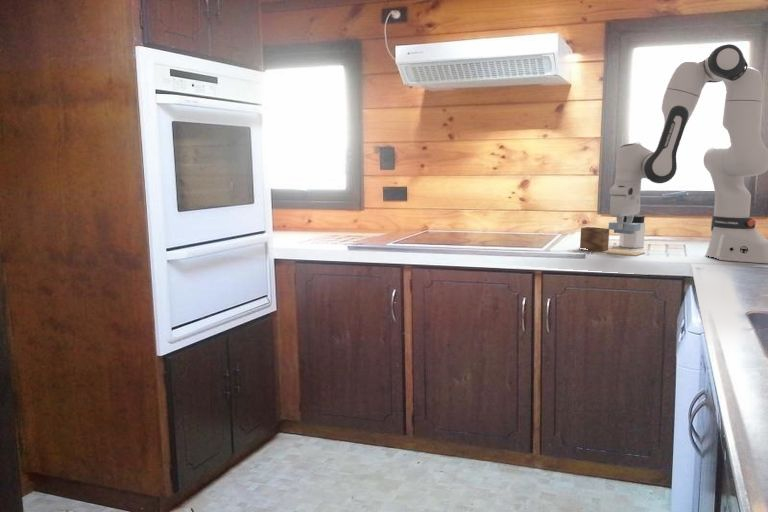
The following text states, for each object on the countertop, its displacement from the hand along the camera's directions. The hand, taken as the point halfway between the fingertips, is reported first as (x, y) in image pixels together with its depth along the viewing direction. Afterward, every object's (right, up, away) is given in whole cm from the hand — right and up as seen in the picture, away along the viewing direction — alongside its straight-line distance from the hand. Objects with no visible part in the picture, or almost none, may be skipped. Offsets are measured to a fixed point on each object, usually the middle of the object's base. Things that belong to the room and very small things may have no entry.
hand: (624, 228), depth 251 cm
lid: (0, -2, 0) cm, 2 cm away
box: (-8, -8, +8) cm, 14 cm away
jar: (+9, -7, +18) cm, 21 cm away
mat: (0, -9, +1) cm, 9 cm away
